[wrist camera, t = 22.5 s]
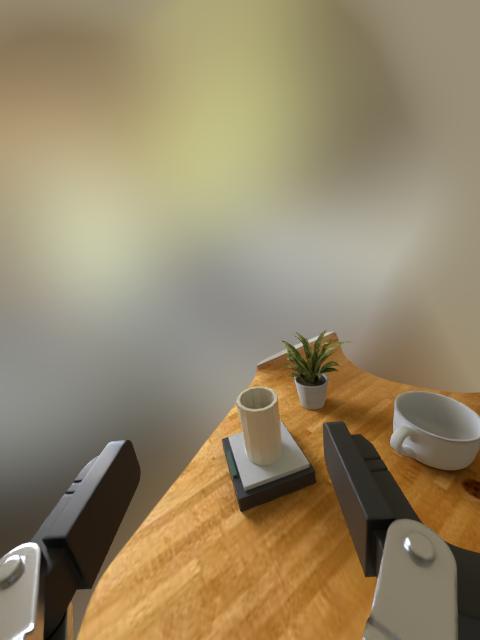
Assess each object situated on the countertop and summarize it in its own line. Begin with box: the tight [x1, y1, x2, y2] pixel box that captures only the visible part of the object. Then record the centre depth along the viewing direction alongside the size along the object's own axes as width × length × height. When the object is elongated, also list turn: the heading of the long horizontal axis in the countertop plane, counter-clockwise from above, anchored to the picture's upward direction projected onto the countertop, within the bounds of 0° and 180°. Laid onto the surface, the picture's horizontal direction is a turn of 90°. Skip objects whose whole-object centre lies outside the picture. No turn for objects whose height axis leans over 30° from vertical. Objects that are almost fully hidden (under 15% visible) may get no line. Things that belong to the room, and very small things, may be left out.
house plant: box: [282, 331, 350, 410], centre depth 53 cm, size 14×14×16 cm
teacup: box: [390, 391, 480, 470], centre depth 38 cm, size 14×11×8 cm
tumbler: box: [237, 386, 283, 465], centre depth 39 cm, size 6×6×10 cm
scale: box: [222, 420, 316, 512], centre depth 41 cm, size 12×12×3 cm
